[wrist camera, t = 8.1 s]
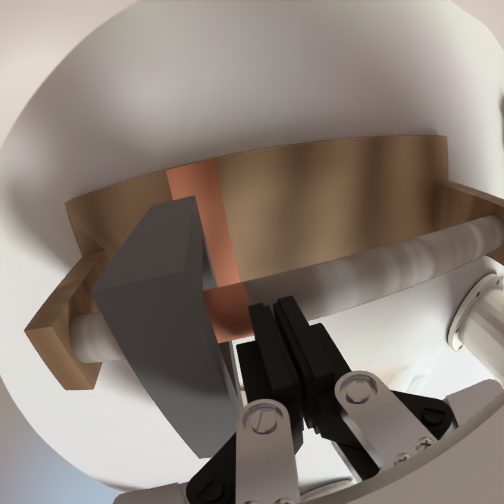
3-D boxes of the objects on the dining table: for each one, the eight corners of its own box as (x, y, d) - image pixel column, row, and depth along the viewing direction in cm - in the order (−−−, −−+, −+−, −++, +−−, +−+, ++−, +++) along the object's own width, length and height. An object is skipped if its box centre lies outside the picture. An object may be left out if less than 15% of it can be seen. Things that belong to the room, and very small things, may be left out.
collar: (195, 195, 14) (183, 270, 6) (229, 329, 18) (252, 450, 10) (151, 205, 14) (91, 291, 6) (194, 337, 18) (199, 458, 9)
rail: (438, 135, 18) (526, 150, 10) (436, 257, 23) (503, 303, 15) (70, 199, 16) (-15, 251, 7) (125, 337, 21) (102, 431, 12)
